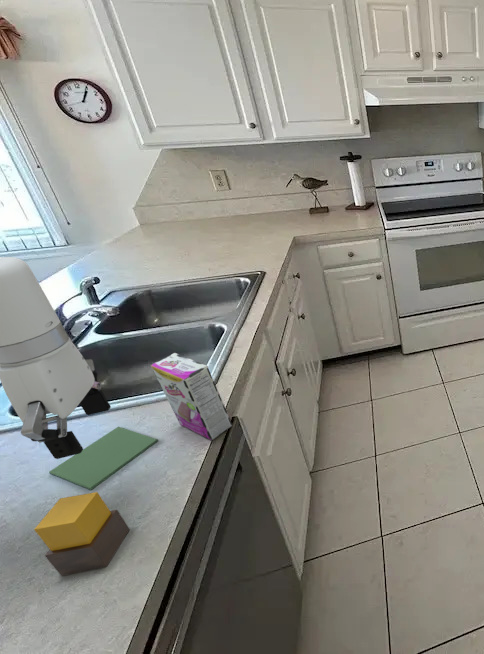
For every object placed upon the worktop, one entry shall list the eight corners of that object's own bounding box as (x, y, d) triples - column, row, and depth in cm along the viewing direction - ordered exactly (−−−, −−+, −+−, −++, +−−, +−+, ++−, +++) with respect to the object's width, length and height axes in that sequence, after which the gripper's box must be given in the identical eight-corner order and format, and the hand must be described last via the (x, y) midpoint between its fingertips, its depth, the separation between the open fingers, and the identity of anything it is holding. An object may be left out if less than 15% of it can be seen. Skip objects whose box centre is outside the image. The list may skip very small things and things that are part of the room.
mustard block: (51, 551, 60) (33, 529, 58) (75, 519, 64) (59, 498, 62) (90, 543, 61) (74, 522, 59) (111, 512, 65) (97, 491, 63)
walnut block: (61, 576, 62) (44, 555, 60) (88, 537, 67) (74, 517, 65) (106, 566, 63) (91, 546, 61) (130, 529, 68) (117, 509, 66)
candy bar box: (178, 426, 89) (148, 365, 82) (201, 411, 93) (175, 351, 86) (211, 442, 84) (182, 379, 77) (234, 425, 88) (208, 364, 81)
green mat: (49, 473, 78) (48, 471, 78) (119, 428, 89) (118, 426, 88) (91, 490, 75) (89, 488, 75) (158, 440, 85) (157, 439, 85)
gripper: (31, 319, 65) (82, 403, 72) (-52, 387, 50) (22, 483, 57) (91, 310, 67) (134, 392, 74) (28, 371, 52) (89, 465, 60)
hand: (85, 431), depth 66 cm, fingers open, 9 cm apart
